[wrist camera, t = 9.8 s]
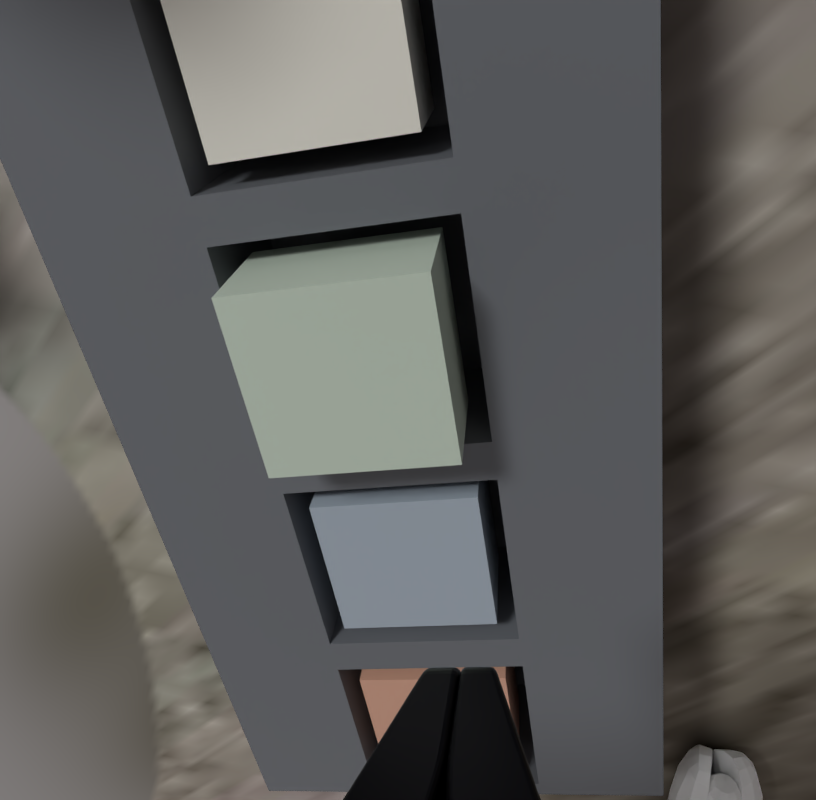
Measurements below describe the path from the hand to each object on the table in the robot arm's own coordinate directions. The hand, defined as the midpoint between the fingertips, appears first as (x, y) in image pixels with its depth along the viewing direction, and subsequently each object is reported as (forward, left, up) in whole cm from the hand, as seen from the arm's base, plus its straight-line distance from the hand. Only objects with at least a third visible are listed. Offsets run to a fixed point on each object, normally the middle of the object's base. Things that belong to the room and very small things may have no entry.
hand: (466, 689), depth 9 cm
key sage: (+3, -1, -9) cm, 9 cm away
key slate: (+3, +5, -10) cm, 11 cm away
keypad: (+3, +2, -12) cm, 12 cm away
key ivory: (+3, -7, -10) cm, 13 cm away
